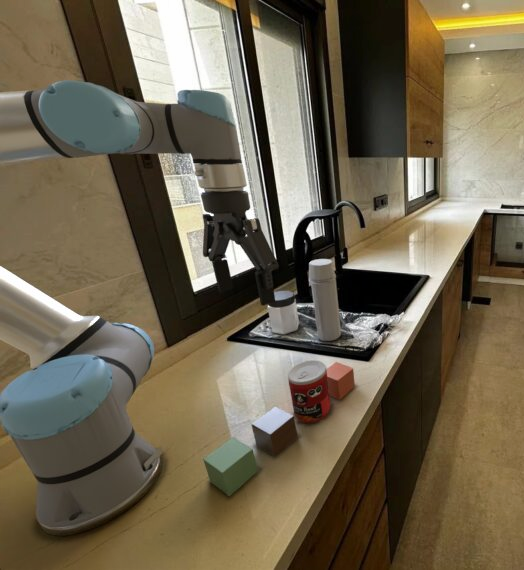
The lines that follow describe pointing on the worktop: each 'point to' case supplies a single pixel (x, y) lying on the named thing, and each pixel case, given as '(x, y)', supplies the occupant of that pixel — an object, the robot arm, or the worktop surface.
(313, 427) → the worktop surface
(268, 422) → the block walnut
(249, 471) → the block sage
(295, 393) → the canned food
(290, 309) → the jar
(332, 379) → the block terracotta
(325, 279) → the water bottle
